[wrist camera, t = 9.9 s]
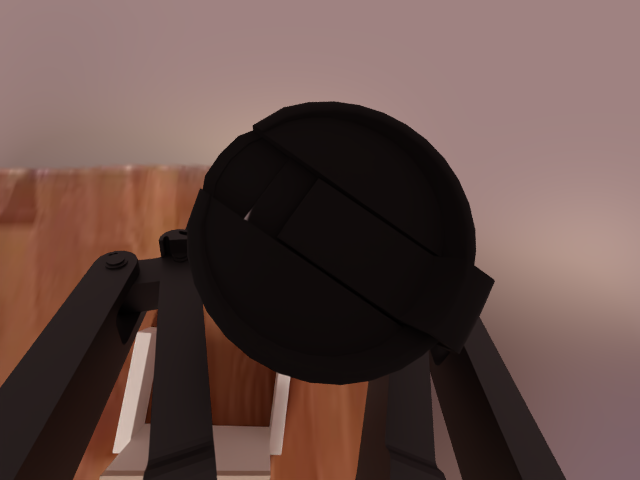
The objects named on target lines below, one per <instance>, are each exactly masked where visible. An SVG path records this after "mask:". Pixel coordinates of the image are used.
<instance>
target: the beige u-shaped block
mask: <svg viewBox="0 0 640 480" xmlns="http://www.w3.org/2000/svg"><path fill="white" fill-rule="evenodd" d="M156 333H157V327H149V328H146V329H144V330H141V331H139V332H137V336H136V341H135V345H134V350H133V355H132V360H131V365H130V370H129V375H128V380H127V385H126V390H125V394H124V399H123V404H122V409H121V414H120V419H119V424H118V429H117V434H116V439H115V444H114V448H113V453H119V455H118V456H117V457H116V458H115V459H114V460H113V462H112V463H111V464H110V465H109V466H108V468H107V469H106V470H105V471H104V472H103V473H102V475H101V476H100V480H143V475H144V471H145V469H146V467H147V463H148V455H149V440H150V424H145V419H146V414H147V409H148V404H149V398H150V393H151V388H152V383H153V377H154V363H155V348H156ZM289 384H290V377H289V376H286V375H282V374H279V373H277V372H276V378H275V386H274V394H273V402H272V410H271V418H270V426H269V427H253V426H216V425H212V426H213V438H214V448H215V458H216V470H217V480H270V455H281V452H282V443H283V435H284V427H285V418H286V410H287V401H288V393H289Z"/></svg>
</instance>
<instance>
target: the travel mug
mask: <svg viewBox="0 0 640 480" xmlns="http://www.w3.org/2000/svg"><path fill="white" fill-rule="evenodd" d="M475 240H476V238H475V227H474V223H473V218H472V214H471V209H470V205H469V202H468V200H467V198H466V195H465V193H464V191H463V188H462V186H461V184H460V182H459V180H458V178H457V177H456V175H455V174H454V172H453V171H452V169H451V168H450V166H449V165H448V163H447V161H446V160H445V159H444V158H443V156H442V155H441V154H440V153H439V152H438V151H437V150H436V149H435V148H434V147H433V146H432V145H431V144H430V143H429V142H428V141H427V140H426V139H425V138H424V137H422V136H421V135H420V134H418V133H417V132H415V131H414V130H413V129H412V128H410V127H409V126H408V125H406V124H404V123H402V122H400V121H398V120H396V119H395V118H393V117H391V116H389V115H387V114H385V113H382V112H379V111H376V110H373V109H370V108H367V107H364V106H360V105H355V104H347V103H341V102H308V103H303V104H298V105H294V106H289V107H284V108H282V109H280V110H278V111H277V112H275V113H273V114H271V115H270V116H268V117H266V118H265V119H263V120H261V121H259V122H258V123H256V124H254V125H253V131H250V132H248V133H245V134H243V135H240V136H238V137H237V138H236V139H235V140H234V141H233V142H232V143H231V144H230V145H229V146H228V147H227V148H226V149H225V150H224V151H223V152H222V153H221V154H220V155H219V156H218V158H217V159H216V161H215V162H214V163H213V165H212V166H211V168H210V169H209V171H208V172H207V174H206V175H205V179H204V185H203V190H202V189H200V190H199V193H198V196H197V198H196V201H195V204H194V207H193V210H192V212H191V215H190V218H189V221H188V224H187V256H188V260H189V265H190V269H191V273H192V277H193V282H194V285H195V287H196V289H197V292H198V294H199V296H200V298H201V300H202V302H203V304H204V306H205V309H206V311H207V313H208V314H209V315H210V317H211V318H212V319H213V320H214V322H215V323H216V324H217V326H218V327H219V328H220V330H221V331H222V332H223V334H224V335H225V336H226V337H227V338H228V339H229V340H230V341H231V342H232V343H234V344H235V345H236V346H237V347H238V348H239V349H241V350H242V351H243V352H244V353H245V354H246V355H247V356H249V357H250V358H251V359H253V360H255V361H257V362H259V363H260V364H262V365H264V366H266V367H268V368H270V369H271V370H273V371H275V372H277V373H279V374H282V375H286V376H289V377H292V378H296V379H299V380H302V381H306V382H309V383H322V384H335V385H344V384H351V383H358V382H365V381H372V380H375V379H377V378H380V377H383V376H386V375H388V374H391V373H394V372H396V371H399V370H401V369H403V368H404V367H406V366H407V365H409V364H411V363H412V362H414V361H415V360H417V359H418V358H420V357H421V356H423V355H424V354H425V353H426V352H427V351H428V350H430V349H431V348H432V347H433V346H434V345H436V344H437V345H438V346H439V347H441V348H442V349H445V350H447V351H450V352H453V353H456V354H460V352H461V350H462V348H463V346H464V344H465V343H466V341H467V339H468V338H469V336H470V334H471V332H472V330H473V328H474V326H475V324H476V322H477V320H478V318H479V316H480V314H481V312H482V309H483V307H484V305H485V303H486V300H487V298H488V296H489V293H490V291H491V289H492V286H493V284H494V282H495V281H494V279H492V278H491V277H490V276H488V275H487V274H485V273H484V272H483V271H481V270H480V269H479V268H477V267H476V266H474V262H475V255H476V241H475Z"/></svg>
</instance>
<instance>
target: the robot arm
mask: <svg viewBox="0 0 640 480" xmlns="http://www.w3.org/2000/svg"><path fill="white" fill-rule="evenodd" d="M159 245H160V252H161V257H159V258H155V259H147V260H138V259H137V257H136V255H135V254H133V253H131V252H127V251H114V252H110V253H107V254H105V255H103V256H100V257H99V258H98V259H97V260H96V261H95V262H94V263H93V265H92V266H91V267H90V269H89V270H88V271H87V273H86V274H85V275H84V277H83V278H82V279H81V281H80V282H79V283H78V285H77V286H76V287H75V289H74V290H73V291H72V293H71V294H70V295H69V297H68V298H67V299H66V301H65V302H64V303H63V305H62V306H61V307H60V309H59V310H58V311H57V313H56V314H55V315H54V317H53V318H52V319H51V321H50V322H49V323H48V325H47V326H46V327H45V329H44V330H43V331H42V333H41V334H40V335H39V337H38V338H37V339H36V341H35V342H34V343H33V345H32V346H31V347H30V349H29V350H28V351H27V353H26V354H25V355H24V357H23V358H22V359H21V361H20V362H19V363H18V365H17V366H16V367H15V369H14V370H13V371H12V373H11V374H10V375H9V377H8V378H7V379H6V381H5V382H4V384H3V385H2V386H1V388H0V480H73V478H74V475H75V473H76V471H77V469H78V466H79V464H80V462H81V460H82V457H83V455H84V453H85V450H86V448H87V446H88V444H89V441H90V439H91V437H92V435H93V432H94V430H95V428H96V425H97V423H98V421H99V419H100V416H101V414H102V412H103V410H104V407H105V405H106V403H107V400H108V398H109V396H110V394H111V391H112V389H113V387H114V385H115V382H116V380H117V378H118V376H119V373H120V371H121V369H122V366H123V364H124V362H125V360H126V357H127V355H128V353H129V351H130V348H131V346H132V344H133V341H134V339H135V337H136V335H137V332H138V330H139V328H140V326H141V323H142V321H143V319H144V316H145V314H146V312H147V311H149V310H155V309H158V317H157V333H156V348H155V363H154V378H153V394H152V409H151V424H150V440H149V455H148V463H147V467H146V469H145V471H144V475H143V480H217V470H216V458H215V448H214V438H213V426H212V413H211V401H210V388H209V376H208V363H207V350H206V338H205V325H204V313H203V302H202V300H201V298H200V296H199V294H198V292H197V289H196V287H195V285H194V282H193V277H192V273H191V269H190V265H189V260H188V256H187V227H186V229H185V230H183V229H177V230H171V231H168V232H166V233H164V234H163V235H162V236H161V237H160V239H159ZM430 373H431V376H432V379H433V383H434V386H435V389H436V393H437V396H438V400H439V403H440V406H441V410H442V413H443V416H444V420H445V423H446V426H447V430H448V433H449V436H450V440H451V443H452V447H453V450H454V453H455V456H456V460H457V463H458V467H459V469H460V473H461V477H462V479H463V480H566V478H565V476H564V475H563V473H562V471H561V469H560V467H559V465H558V464H557V461H556V459H555V458H554V456H553V454H552V452H551V450H550V448H549V447H548V445H547V443H546V441H545V439H544V437H543V435H542V433H541V431H540V429H539V428H538V426H537V424H536V422H535V420H534V419H533V416H532V414H531V413H530V411H529V409H528V407H527V405H526V403H525V401H524V399H523V398H522V396H521V394H520V392H519V390H518V388H517V387H516V385H515V383H514V381H513V379H512V377H511V375H510V373H509V371H508V369H507V368H506V366H505V364H504V362H503V360H502V358H501V356H500V355H499V353H498V351H497V349H496V347H495V345H494V343H493V342H492V340H491V338H490V336H489V334H488V332H487V330H486V328H485V326H484V325H483V323H482V321H481V319H480V317H479V318H478V320H477V322H476V324H475V326H474V328H473V330H472V332H471V334H470V336H469V338H468V339H467V341H466V343H465V344H464V346H463V348H462V350H461V352H460V354H456V353H453V352H450V351H447V350H445V349H442V348H441V347H439V346H438V345H437V344H436V345H434V346H433V347H432V348H431V349H430V350H428V351H427V352H426V353H425V354H424V355H423V356H421V357H420V358H418V359H417V360H415V361H414V362H412V363H411V364H409V365H407V366H406V367H404V368H403V369H401V370H399V371H396V372H394V373H391V374H388V375H386V376H383V377H380V378H377V379H375V380H372V381H369V383H368V390H367V398H366V406H365V413H364V421H363V429H362V436H361V444H360V452H359V459H358V467H357V474H356V479H355V480H446V478H445V476H444V473H443V472H442V471H440V470H439V469H438V468H437V465H436V461H435V451H434V450H435V449H434V434H433V433H434V432H433V416H432V399H431V383H430Z"/></svg>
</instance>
